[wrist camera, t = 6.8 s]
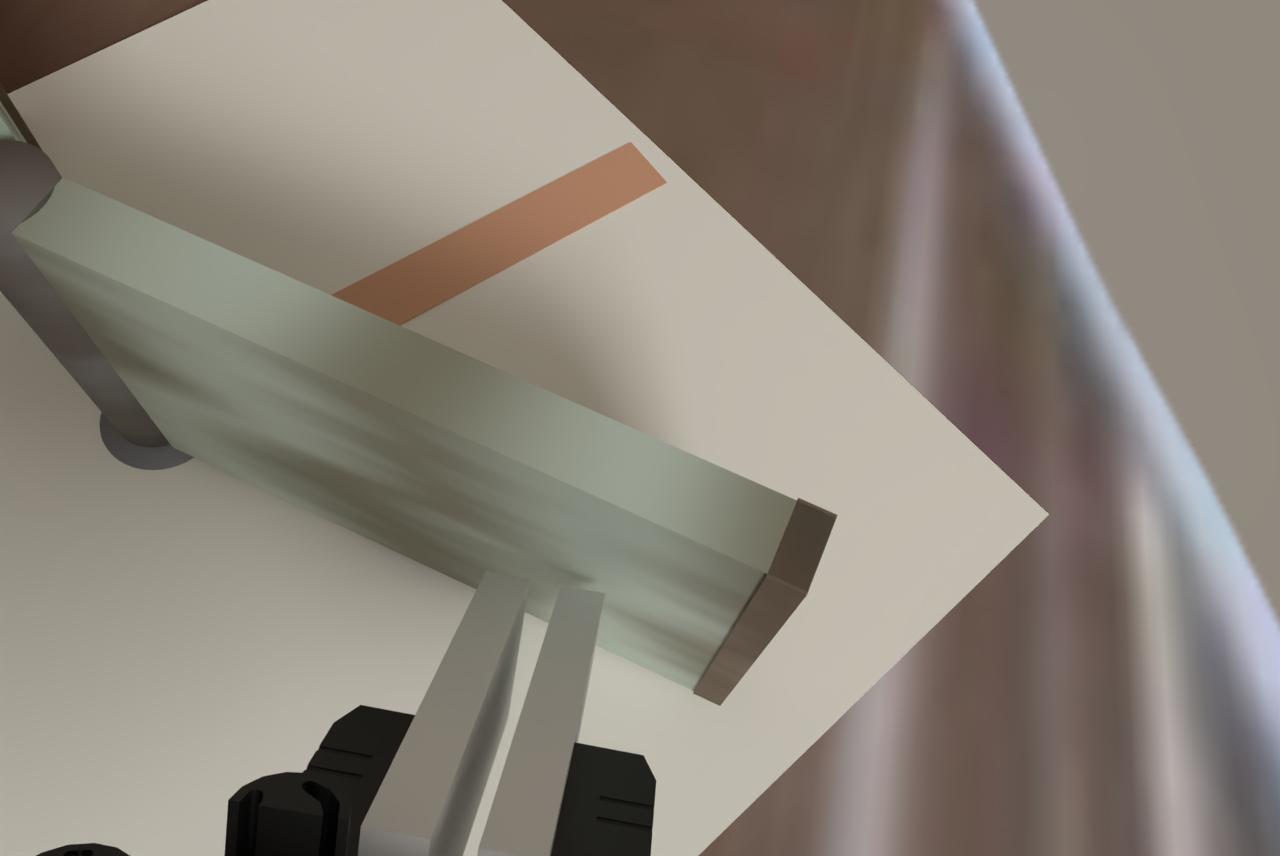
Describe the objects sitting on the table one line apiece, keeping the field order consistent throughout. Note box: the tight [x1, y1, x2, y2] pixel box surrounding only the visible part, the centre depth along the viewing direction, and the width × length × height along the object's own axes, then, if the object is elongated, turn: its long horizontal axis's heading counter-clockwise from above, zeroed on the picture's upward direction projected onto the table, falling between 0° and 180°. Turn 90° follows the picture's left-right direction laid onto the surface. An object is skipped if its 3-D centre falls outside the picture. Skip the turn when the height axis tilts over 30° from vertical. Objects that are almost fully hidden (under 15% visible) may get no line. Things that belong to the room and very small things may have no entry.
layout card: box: [0, 0, 1049, 856], centre depth 24 cm, size 25×22×1 cm
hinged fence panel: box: [0, 140, 837, 706], centre depth 19 cm, size 15×2×8 cm, turn 66°
